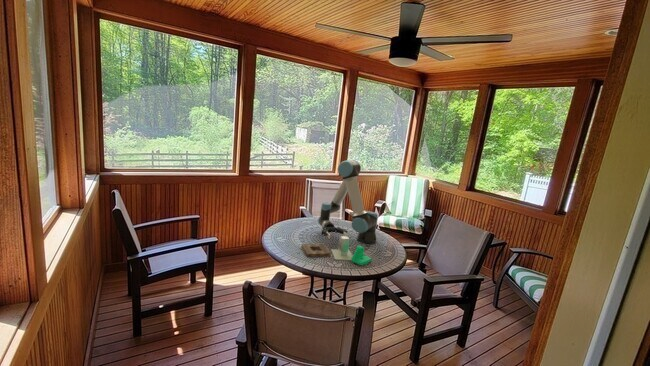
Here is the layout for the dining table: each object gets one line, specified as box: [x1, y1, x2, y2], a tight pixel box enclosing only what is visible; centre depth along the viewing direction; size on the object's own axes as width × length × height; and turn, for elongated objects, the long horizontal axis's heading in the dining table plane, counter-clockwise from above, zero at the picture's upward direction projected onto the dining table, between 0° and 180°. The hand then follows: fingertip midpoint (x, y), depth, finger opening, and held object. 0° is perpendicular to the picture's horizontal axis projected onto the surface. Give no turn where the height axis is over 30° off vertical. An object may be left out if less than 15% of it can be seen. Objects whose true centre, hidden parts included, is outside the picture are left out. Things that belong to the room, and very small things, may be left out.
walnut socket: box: [301, 243, 332, 258], centre depth 205 cm, size 16×16×2 cm
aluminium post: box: [337, 235, 351, 256], centre depth 204 cm, size 5×5×12 cm
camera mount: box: [350, 245, 372, 266], centre depth 196 cm, size 12×8×10 cm, turn 137°
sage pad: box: [331, 248, 353, 261], centre depth 205 cm, size 13×16×1 cm
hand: (338, 236), depth 213 cm, fingers open, 13 cm apart
